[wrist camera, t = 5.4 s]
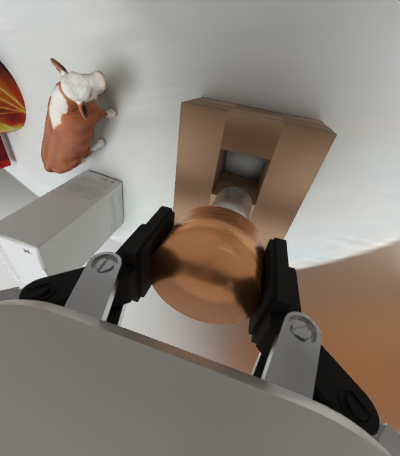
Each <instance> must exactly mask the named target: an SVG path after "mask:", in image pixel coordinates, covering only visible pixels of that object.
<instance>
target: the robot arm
mask: <svg viewBox="0 0 400 456" xmlns="http://www.w3.org/2000/svg"><path fill="white" fill-rule="evenodd" d="M174 219H175V212H173V211H172V208H168V207H164V206H162V207H161V208H160V209H159V210H158V211H157V212H156V213H155V214H154V216H153V217H152V218H151V219H150V220H149V221H148V222H147V224H146V225H145V224H141V225H140V226H139V227H138V228H137V230H136V231H135V232H134V233H133V234H132V235H131V236H130V237H129V238H128V240H127V241H126V242H125V243H124V244H123V245H122V246H121V247H120V249H119V250H118V251H117V252H116V253H113V252H102V253H99V254H97V255H94V256H93V257H92V258H90V260H89V261H88V263H87V265H86V266H85V267H82V268H79V269H75V270H71V271H67V272H63V273H59V274H55V275H51V276H47V277H44V278H40V279H37V280H34V281H33V282H31V283H29V284H28V285H26V286H25V287H24V288H23V289H20V288H19V287H15V288H11V289H6V290H1V291H0V456H400V435H399V434H398V433H397V432H396V431H395V430H394V429H393V428H392V427H391V426H390V425H389V424H388V423H385V424H383V423H382V421H380V419H379V417H378V414H377V411H376V409H375V407H374V405H373V403H372V402H371V400H370V399H369V398H368V396H367V395H366V394H365V393H364V392H363V390H361V388H360V387H359V386H358V385H357V384H356V383H355V382H354V381H353V379H352V378H351V377H350V376H349V375H348V374H347V373H346V372H345V371H344V370H343V368H342V367H341V366H340V365H339V364H338V363H337V362H336V361H335V360H334V358H333V357H332V356H331V355H330V354H329V353H328V352H327V351H326V350H325V349H324V347H323V346H322V345H321V340H322V338H321V332H320V329H319V328H318V326H317V324H316V323H315V322H314V321H313V320H312V319H311V318H310V317H308V316H307V315H305V314H303V313H301V306H300V299H299V292H298V283H297V275H296V270H295V269H294V268H291V267H289V264H288V254H287V243H286V240H283V239H279V238H276V237H275V238H274V240H273V239H270V240H269V242H268V244H267V247H266V249H265V253H264V264H263V275H262V287H261V298H260V304H259V306H258V308H257V310H256V311H255V313H254V314H253V315H252V316H250V320H249V334H252V341H251V342H253V343H256V347H257V348H258V350H259V351H260V353H259V355H258V358H257V361H256V363H255V366H254V368H253V371H252V373H251V375H249V374H247V373H244V372H241V371H239V370H236V369H233V368H231V367H228V366H225V365H223V364H220V363H217V362H215V361H212V360H209V359H206V358H204V357H201V356H199V355H196V354H193V353H190V352H188V351H185V350H182V349H180V348H177V347H174V346H172V345H169V344H166V343H164V342H161V341H158V340H155V339H153V338H150V337H147V336H145V335H142V334H139V333H136V332H134V331H131V330H128V329H125V328H123V327H120V325H121V321H122V318H123V314H124V311H125V307H126V304H127V303H130V302H131V301H132V300H133V301H136V302H138V301H139V299H140V297H144V296H145V295H146V293H147V291H148V290H149V288H150V286H151V285H152V283H151V281H150V259H151V257H152V255H153V254H154V252H155V251H156V250H157V248H158V247H159V246H160V244H161V243H162V242H163V240H164V239H165V238H166V236H167V235H168V234H169V232H170V231H171V230H172V228H173V227H174Z"/></svg>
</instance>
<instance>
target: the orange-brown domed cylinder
mask: <svg viewBox="0 0 400 456" xmlns="http://www.w3.org/2000/svg"><path fill="white" fill-rule="evenodd" d="M251 208H252V201H251V198H250V196H249V194H248V193H247V192H246V191H245V190H243V189H241V188H239V187H227V188H224V189H223V190H221V191H220V192H219V193H218V195H217V197H216V198H215V200H214V202H213V204H212V205H211V206H202V207H198V208H194V209H192V210H190V211H188V212H187V213H185V214H184V215H183V216H182V217H181V218H180V219H179V220H178V222H177V223H176V224H175V226H174V227H173V228H172V230H171V231H170V232H169V234H168V235H167V236H166V238H165V239H164V240H163V242H162V243H161V244H160V246H159V247H158V248H157V250H156V251H155V252H154V254H153V255H152V257H151V259H150V281H151V283H152V285H153V287H154V289H155V290H156V292H157V293H158V294H159V295H160V297H161V298H162V299H163V300H164V301H165V302H166V303H167V304H169V305H170V306H171V307H173V308H174V309H176V310H177V311H179V312H180V313H182V314H184V315H186V316H188V317H190V318H193V319H196V320H198V321H202V322H206V323H211V324H233V323H238V322H241V321H243V320H246V319H247V318H249V317H250V316H252V315H253V314H254V313H255V311H256V310H257V308H258V306H259V304H260V298H261V287H262V275H263V264H264V253H265V249H264V242H263V239H262V236H261V234H260V233H259V231H258V229H257V228H256V227H255V226H254V225H253V223H252V222H251V221H249V216H250V212H251Z"/></svg>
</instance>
